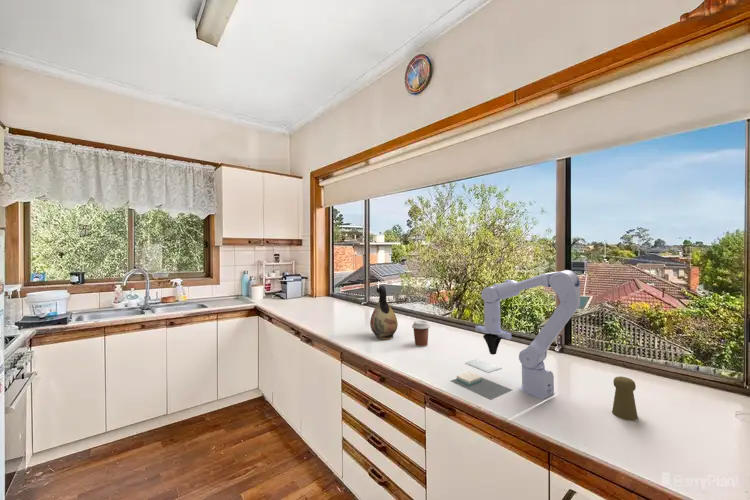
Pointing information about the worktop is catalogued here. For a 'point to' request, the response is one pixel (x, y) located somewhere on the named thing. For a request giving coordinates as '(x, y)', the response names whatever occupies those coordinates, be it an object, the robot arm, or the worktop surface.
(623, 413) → the olive green pepper mill
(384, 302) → the ceramic jug
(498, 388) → the mat
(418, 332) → the coffee cup
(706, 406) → the worktop surface
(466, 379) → the tile
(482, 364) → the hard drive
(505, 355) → the worktop surface
